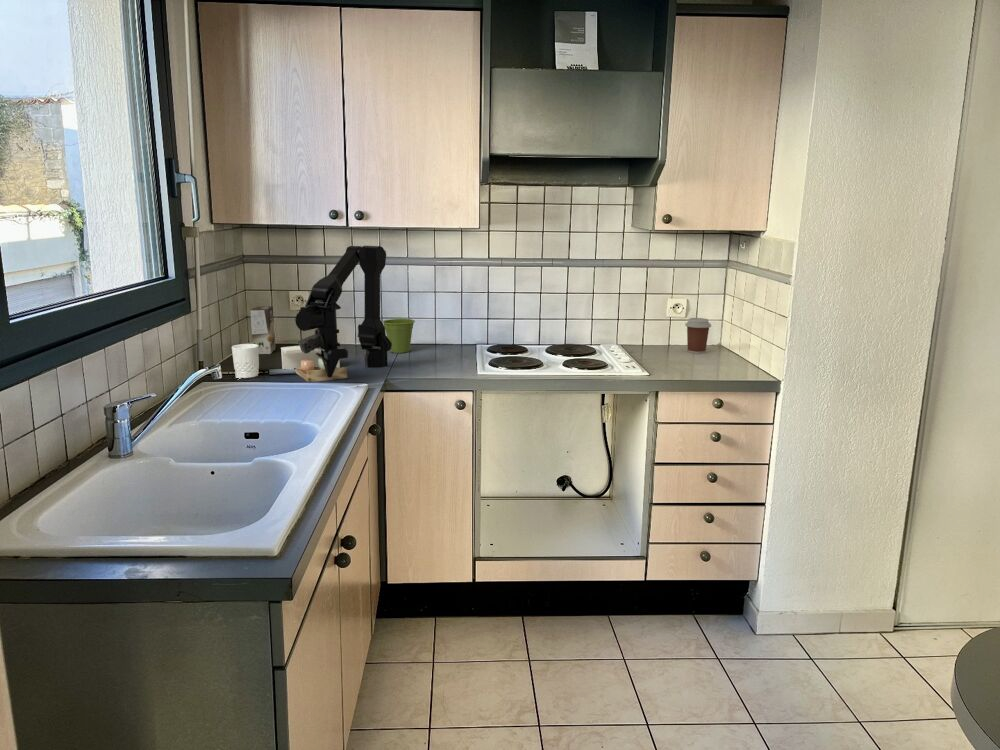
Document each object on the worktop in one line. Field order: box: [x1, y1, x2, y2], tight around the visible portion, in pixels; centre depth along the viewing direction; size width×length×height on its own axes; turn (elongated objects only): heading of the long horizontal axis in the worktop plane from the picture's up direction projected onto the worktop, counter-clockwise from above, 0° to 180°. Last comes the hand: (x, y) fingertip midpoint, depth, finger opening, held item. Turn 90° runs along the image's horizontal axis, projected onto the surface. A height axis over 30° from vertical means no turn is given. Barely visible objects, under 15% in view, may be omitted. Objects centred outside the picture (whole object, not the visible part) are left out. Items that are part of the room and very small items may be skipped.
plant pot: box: [381, 318, 416, 354], centre depth 273 cm, size 12×12×11 cm
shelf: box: [280, 345, 341, 370], centre depth 242 cm, size 17×6×8 cm, turn 120°
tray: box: [294, 366, 348, 383], centre depth 234 cm, size 12×15×4 cm
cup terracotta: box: [301, 359, 314, 374], centre depth 236 cm, size 4×4×4 cm
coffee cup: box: [684, 317, 712, 354], centre depth 274 cm, size 9×9×12 cm
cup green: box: [318, 358, 325, 370], centre depth 239 cm, size 4×4×4 cm
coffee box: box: [249, 305, 276, 355], centre depth 271 cm, size 9×6×16 cm
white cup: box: [231, 343, 260, 380], centre depth 233 cm, size 8×8×10 cm
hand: (329, 377), depth 227 cm, fingers closed
